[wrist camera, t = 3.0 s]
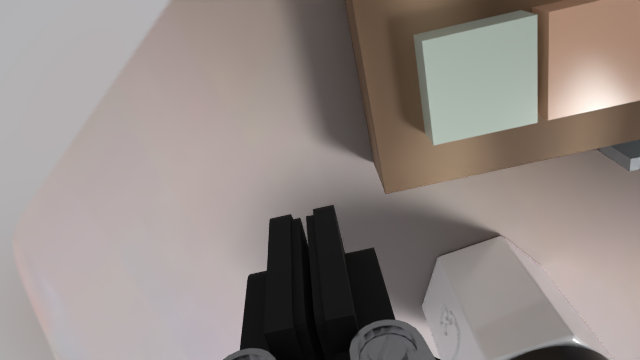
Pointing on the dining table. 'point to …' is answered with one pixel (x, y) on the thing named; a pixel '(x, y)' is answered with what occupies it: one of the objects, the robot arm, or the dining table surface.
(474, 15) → the tan cardboard box
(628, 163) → the tray
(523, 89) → the sage tile
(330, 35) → the dining table surface
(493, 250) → the jar
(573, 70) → the terracotta tile
